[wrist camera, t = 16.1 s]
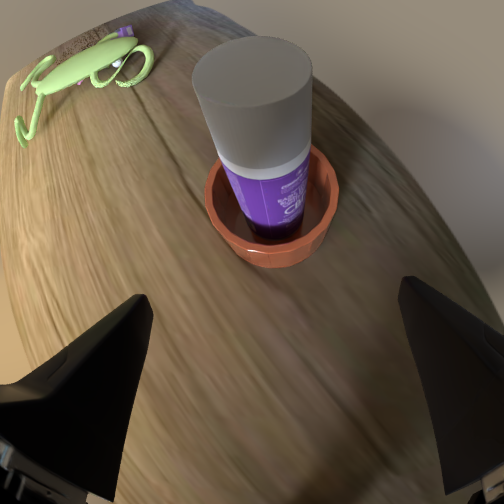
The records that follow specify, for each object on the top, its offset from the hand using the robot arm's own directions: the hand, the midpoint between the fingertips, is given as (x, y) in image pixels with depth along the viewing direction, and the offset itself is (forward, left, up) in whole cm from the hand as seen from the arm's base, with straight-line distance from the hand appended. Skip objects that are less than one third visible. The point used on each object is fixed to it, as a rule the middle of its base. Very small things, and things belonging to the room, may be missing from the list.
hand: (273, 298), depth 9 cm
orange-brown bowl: (+8, +2, -13) cm, 15 cm away
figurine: (+26, +36, -13) cm, 46 cm away
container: (+8, +2, -12) cm, 15 cm away
